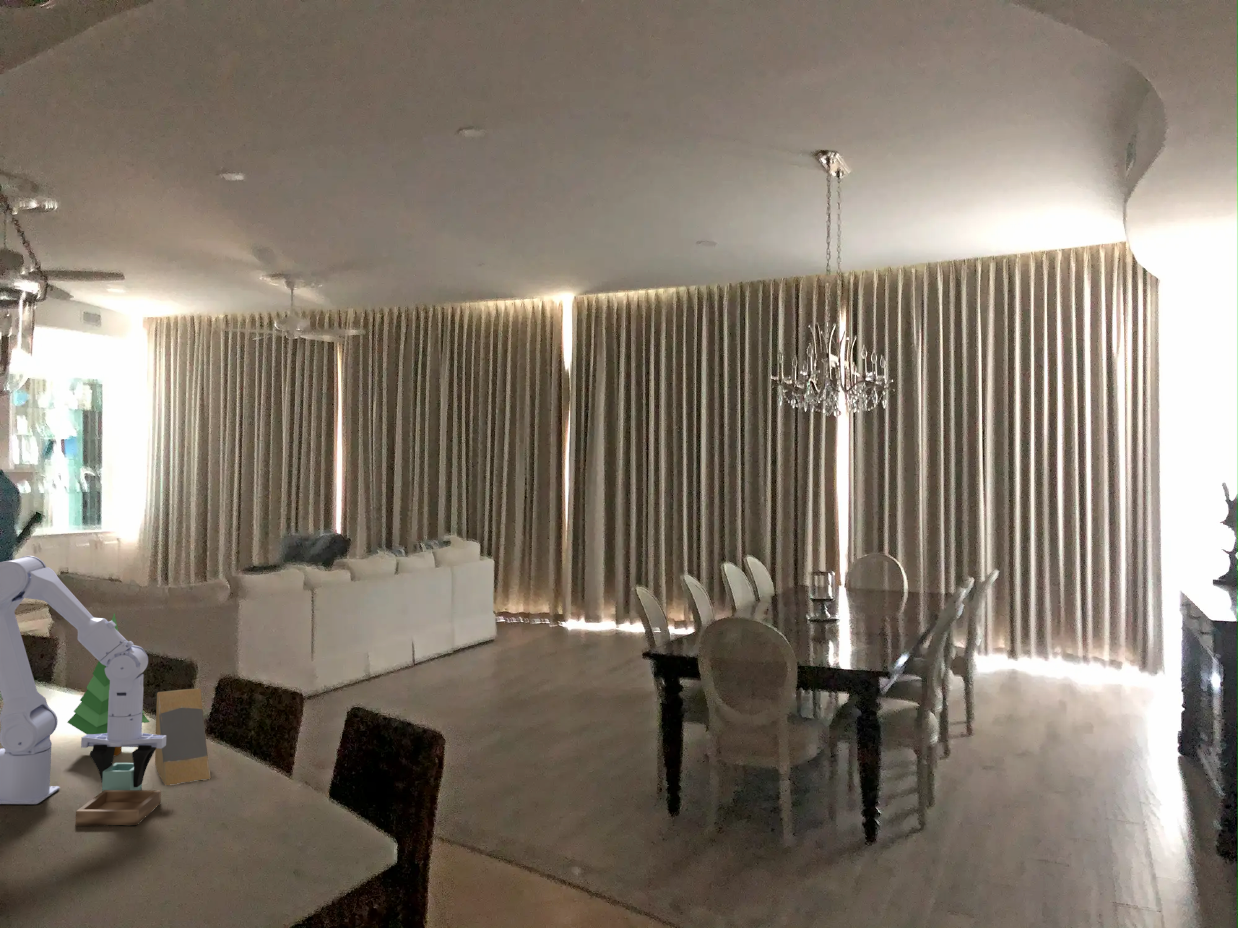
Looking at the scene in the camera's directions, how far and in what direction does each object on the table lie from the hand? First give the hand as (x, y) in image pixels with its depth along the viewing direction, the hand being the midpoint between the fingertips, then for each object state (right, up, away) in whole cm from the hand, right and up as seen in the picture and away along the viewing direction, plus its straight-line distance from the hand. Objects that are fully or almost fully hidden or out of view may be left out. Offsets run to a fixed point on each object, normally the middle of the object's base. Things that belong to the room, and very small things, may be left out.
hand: (122, 785), depth 169 cm
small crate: (0, -2, 0) cm, 2 cm away
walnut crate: (+5, -2, -10) cm, 11 cm away
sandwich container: (+5, -2, +13) cm, 14 cm away
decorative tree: (-15, -1, +22) cm, 26 cm away
